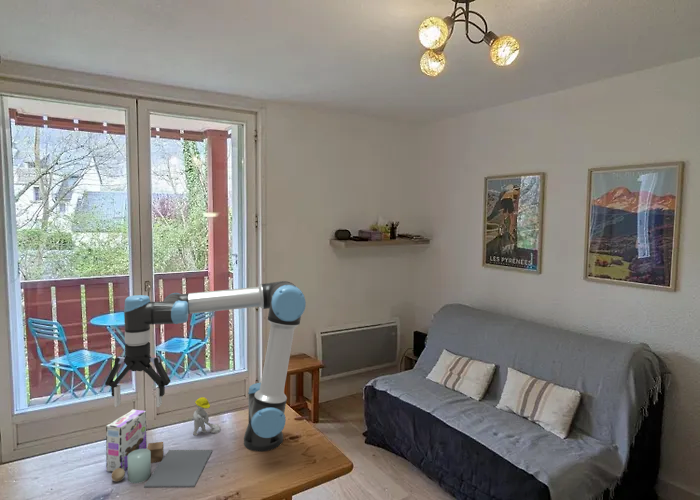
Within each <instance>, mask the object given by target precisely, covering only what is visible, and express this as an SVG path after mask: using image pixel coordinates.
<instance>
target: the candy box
mask: <svg viewBox="0 0 700 500" xmlns="http://www.w3.org/2000/svg"><path fill="white" fill-rule="evenodd" d="M105 431H106V432H105V438H106V439H105V440H106V442H105V444H106V446H105V449H106V451H105V452H106V454H105V455H106V468H105V469H106V472H110V473H112V472H113V471H114V470H115V469H117V468H122V469H124V471H125V472H126V470H128V459H127V456H128V454H129V453H130V452H132V451H134V450H137V449H147V447H148V445H147V411H146V410H143V409H134V408H133V409H131V410H130V411H129V412H127V413H125V414H123V415H122V416H120V417H118V418H117V419H115V420H114V421H112V422H111V423H109V424H107V425H105Z"/></svg>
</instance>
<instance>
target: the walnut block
mask: <svg viewBox="0 0 700 500" xmlns="http://www.w3.org/2000/svg"><path fill="white" fill-rule="evenodd" d="M147 449H149V450H150V451H151V464H154V463H160V462H161V461H162V459H163V458H164V456H165V455H164V441H157V442H156V441H155V442H150V443H148V445H147Z"/></svg>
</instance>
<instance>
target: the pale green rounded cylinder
mask: <svg viewBox="0 0 700 500" xmlns="http://www.w3.org/2000/svg"><path fill="white" fill-rule="evenodd" d="M127 459H128V468H127V481H128V482H129V483H130V484H131V483H132V484H139V483H143V482H145V481H146V482H147V481H148V479H149V478H150V477H151V475H152V467H151V466H152V463H151V451H150V450H149V449H137V450H134V451H132V452H130V453H129V454H128V456H127Z"/></svg>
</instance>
